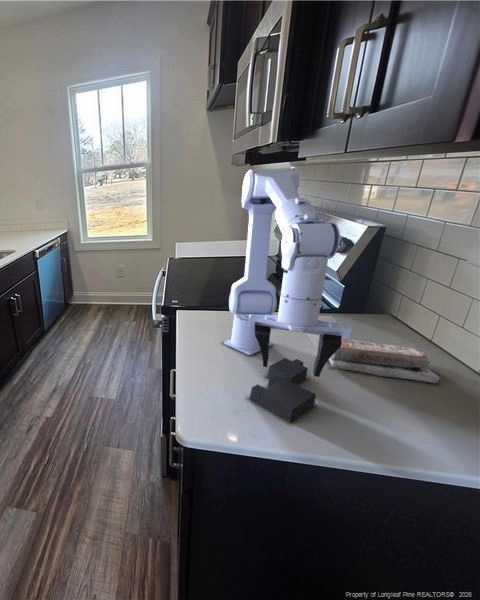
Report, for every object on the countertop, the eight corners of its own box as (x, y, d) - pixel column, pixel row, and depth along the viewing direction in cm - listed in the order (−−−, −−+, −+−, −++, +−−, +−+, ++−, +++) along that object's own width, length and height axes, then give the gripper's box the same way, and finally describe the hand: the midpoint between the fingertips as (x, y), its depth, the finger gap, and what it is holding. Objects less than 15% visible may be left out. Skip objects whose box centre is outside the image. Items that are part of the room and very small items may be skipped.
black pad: (272, 386, 69) (275, 374, 68) (313, 406, 62) (316, 394, 61) (249, 399, 65) (251, 387, 64) (289, 422, 59) (292, 409, 57)
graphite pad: (267, 377, 72) (269, 366, 71) (286, 366, 75) (288, 355, 74) (289, 388, 67) (292, 376, 66) (309, 376, 71) (312, 365, 70)
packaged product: (336, 350, 71) (325, 331, 80) (331, 369, 73) (321, 348, 81) (446, 365, 64) (421, 342, 72) (438, 385, 66) (415, 360, 74)
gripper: (250, 297, 54) (242, 369, 57) (361, 307, 46) (344, 389, 50) (253, 288, 60) (246, 354, 63) (353, 296, 52) (338, 371, 56)
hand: (289, 369), depth 57 cm, fingers open, 7 cm apart
